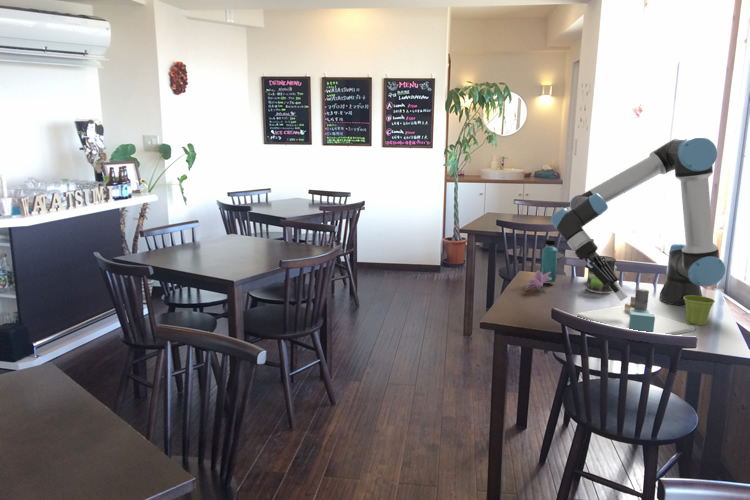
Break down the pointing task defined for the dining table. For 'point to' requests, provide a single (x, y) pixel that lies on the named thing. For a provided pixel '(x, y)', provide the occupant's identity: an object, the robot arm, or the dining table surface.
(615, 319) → the base board
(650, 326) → the block
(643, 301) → the link
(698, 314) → the plant pot
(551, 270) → the beverage bottle
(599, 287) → the coffee can
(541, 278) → the lily
